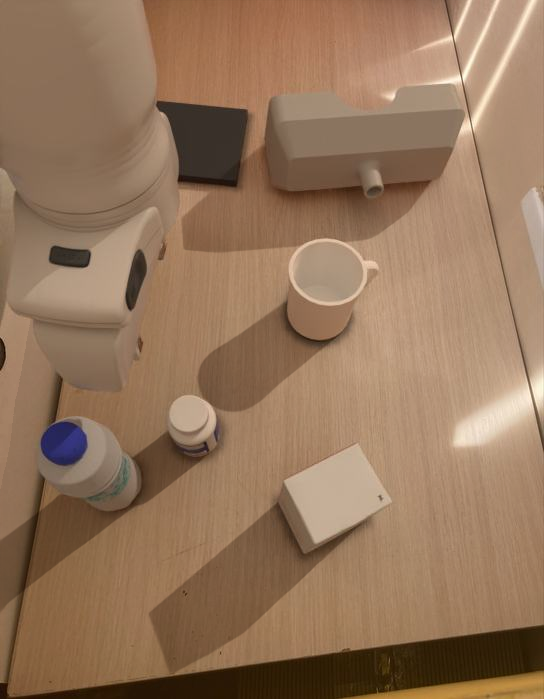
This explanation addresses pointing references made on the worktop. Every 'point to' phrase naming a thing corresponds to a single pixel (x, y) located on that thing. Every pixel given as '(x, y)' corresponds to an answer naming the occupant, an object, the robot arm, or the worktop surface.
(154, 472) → the worktop surface
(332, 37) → the worktop surface
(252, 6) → the worktop surface
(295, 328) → the mug
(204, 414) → the pill bottle
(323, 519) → the small box
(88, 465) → the bottle
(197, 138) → the scale
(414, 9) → the worktop surface
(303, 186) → the tank
